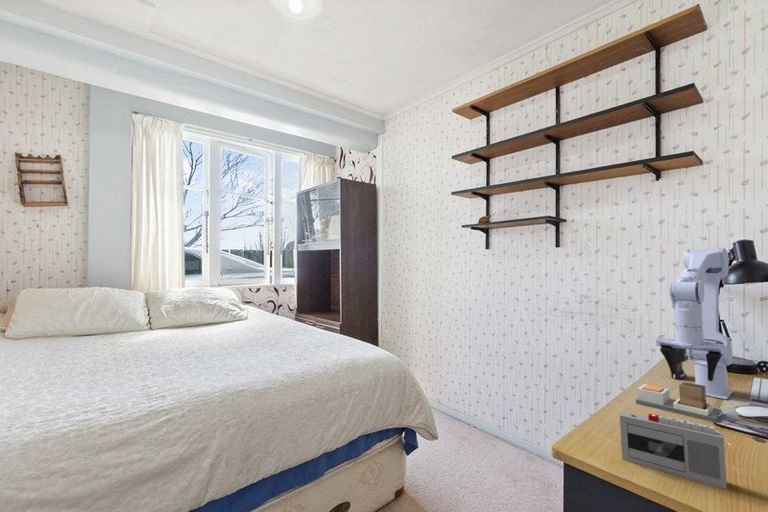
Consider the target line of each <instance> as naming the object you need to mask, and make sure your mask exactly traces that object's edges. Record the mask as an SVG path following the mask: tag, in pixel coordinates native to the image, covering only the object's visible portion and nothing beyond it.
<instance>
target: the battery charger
mask: <svg viewBox="0 0 768 512" xmlns="http://www.w3.org/2000/svg"><path fill="white" fill-rule="evenodd" d="M688 360H689V358H688V356H687V351H686V349H681V348H676V354H675V361H676V374H675V375H673V374H671V373H670V377H671V378H672V379H675V380H684V379H686V378H687V377H688V374H687V373H686V372H685V371H684V368H683V363H685V362H686V361H688Z"/></svg>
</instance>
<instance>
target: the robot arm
mask: <svg viewBox="0 0 768 512" xmlns="http://www.w3.org/2000/svg"><path fill="white" fill-rule="evenodd" d="M728 253H729V252H728V250H727V249H726V247H721V248H705V249H701V248H700V249H686V250H685V251H684V252H683V256H682V257H683V258H682V259H683V265H684V267H685V268H684V269H683V270H682V271H681V273H680V275H679V277H678V279H677V281H674V282H673V283H670V286H669V295H670V296H669V297H670V300H671V301H670V302H671V307H672V309H673V310H674V312H673V313H674V329H675V332H674V333H675V338H661V337H658V338H656V339H655V345H656V347H660V348H659V351H660V352H661V354H662V356H663V357H664V358H665V361H666V363H667V365H668V368H669V371H670V375H671V374H673V375H675V374H676V361H675V354H676V348H681V349H686V351H687V356H688V360H690V361H692V363H693V365H694V366H693V367H694V380H695V381H694V384H698V385H704V386H705V390H706V397H707V396H708V397H712V398H718V399H722V400H728V399H729V398H730V396H731V395H732V394H733V393H734V390H731V389H729V380H728V370H727V366H730V365H731V364H733V357H734V355H733V353H734V352H733V347H732V341H731V340H730V338H729V337H728V336H726V335H724V334H723V333H722V332H720V331H719V329H720V327H719V326H720V325H719V324H720V315H719V314H720V313H719V312H720V310H719V309H720V307H719V306H720V305H719V304H720V294H719V291H720V282H721V279H724V278H726V277H728V276H729V275H728V273H729V254H728ZM728 397H729V398H728Z"/></svg>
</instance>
